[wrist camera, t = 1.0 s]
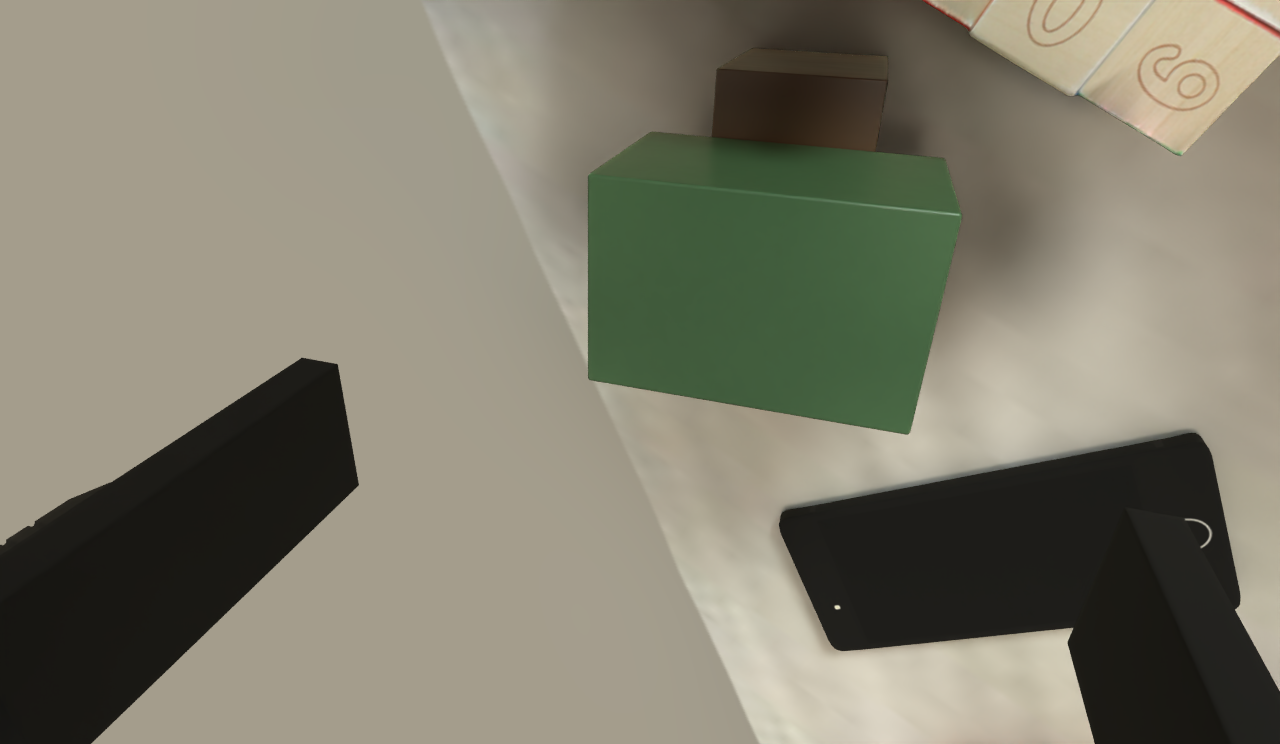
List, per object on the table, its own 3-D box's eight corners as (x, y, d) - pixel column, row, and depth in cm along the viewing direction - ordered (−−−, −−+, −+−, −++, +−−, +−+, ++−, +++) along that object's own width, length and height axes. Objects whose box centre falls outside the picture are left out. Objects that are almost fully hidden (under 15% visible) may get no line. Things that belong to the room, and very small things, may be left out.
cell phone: (1235, 595, 33) (1244, 610, 32) (834, 640, 41) (833, 653, 40) (1201, 427, 30) (1209, 440, 30) (776, 509, 38) (774, 521, 37)
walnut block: (751, 48, 29) (716, 68, 23) (888, 56, 28) (888, 80, 22) (728, 292, 33) (694, 361, 28) (843, 307, 32) (834, 384, 26)
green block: (649, 130, 24) (586, 173, 19) (946, 157, 22) (963, 213, 17) (643, 303, 27) (587, 380, 22) (905, 341, 25) (909, 436, 20)
